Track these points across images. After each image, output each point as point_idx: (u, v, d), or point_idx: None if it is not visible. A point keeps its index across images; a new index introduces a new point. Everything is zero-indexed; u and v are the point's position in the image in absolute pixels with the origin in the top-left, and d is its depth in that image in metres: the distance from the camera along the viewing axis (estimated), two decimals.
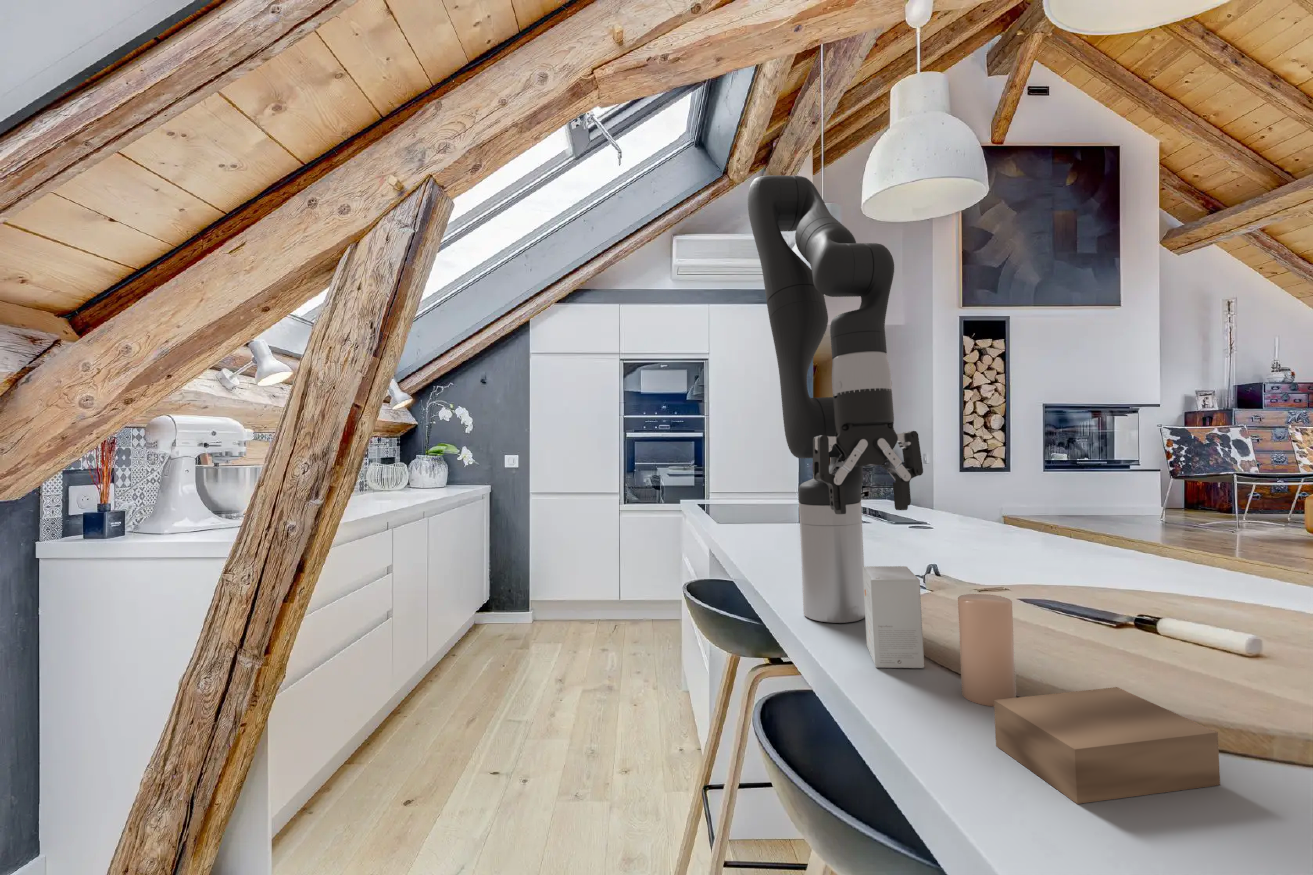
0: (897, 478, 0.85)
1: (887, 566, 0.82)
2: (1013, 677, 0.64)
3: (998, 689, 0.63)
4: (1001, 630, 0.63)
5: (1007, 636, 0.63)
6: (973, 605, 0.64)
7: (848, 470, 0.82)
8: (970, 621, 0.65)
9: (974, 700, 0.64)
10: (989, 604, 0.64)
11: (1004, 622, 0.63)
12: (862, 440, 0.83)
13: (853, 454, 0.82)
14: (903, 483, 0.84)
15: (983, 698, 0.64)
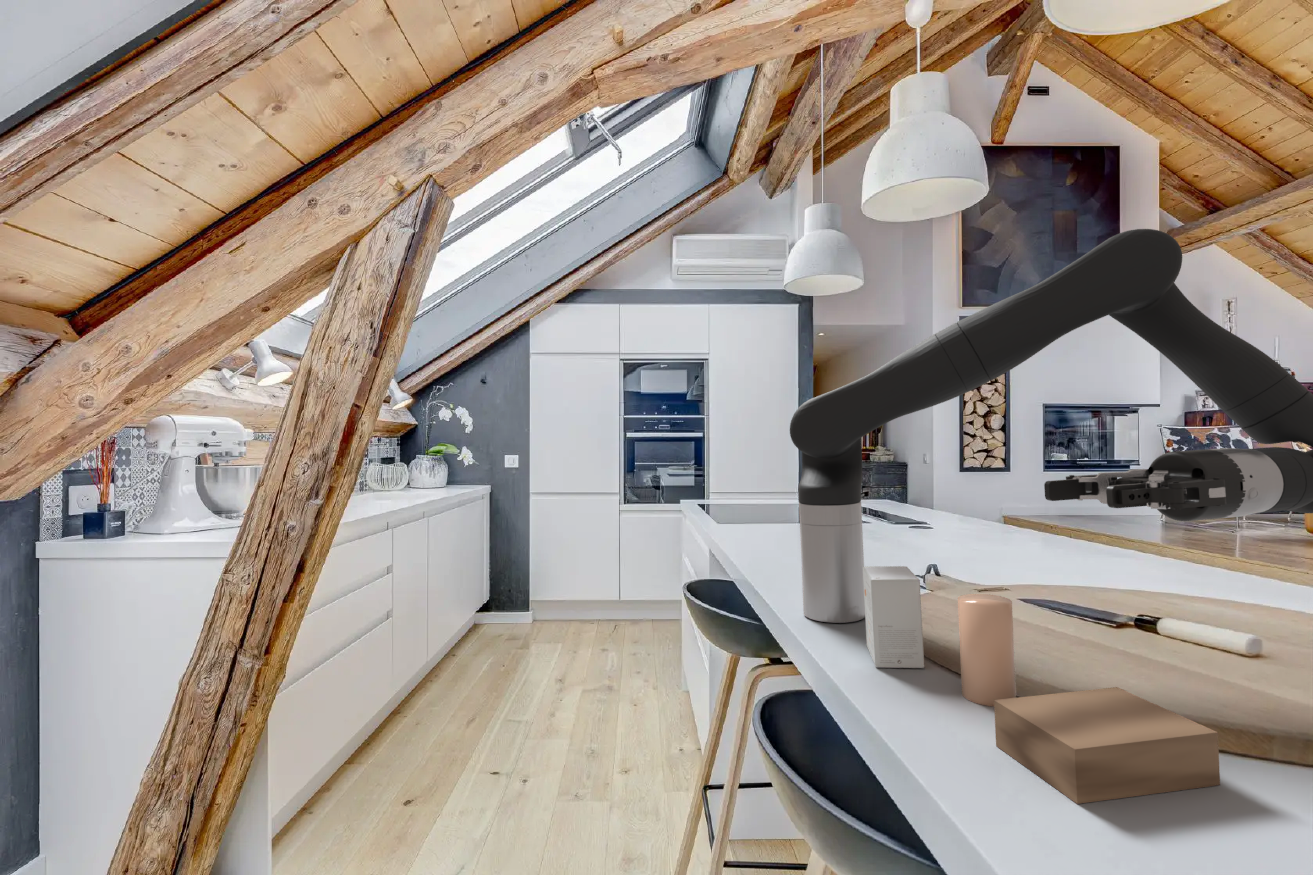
0: (1081, 487, 0.72)
1: (887, 566, 0.82)
2: (1013, 677, 0.64)
3: (998, 689, 0.63)
4: (1000, 630, 0.63)
5: (1007, 636, 0.63)
6: (973, 605, 0.64)
7: None
8: (970, 621, 0.65)
9: (974, 700, 0.64)
10: (989, 604, 0.64)
11: (1004, 622, 0.63)
12: None
13: None
14: (1076, 498, 0.72)
15: (983, 698, 0.64)
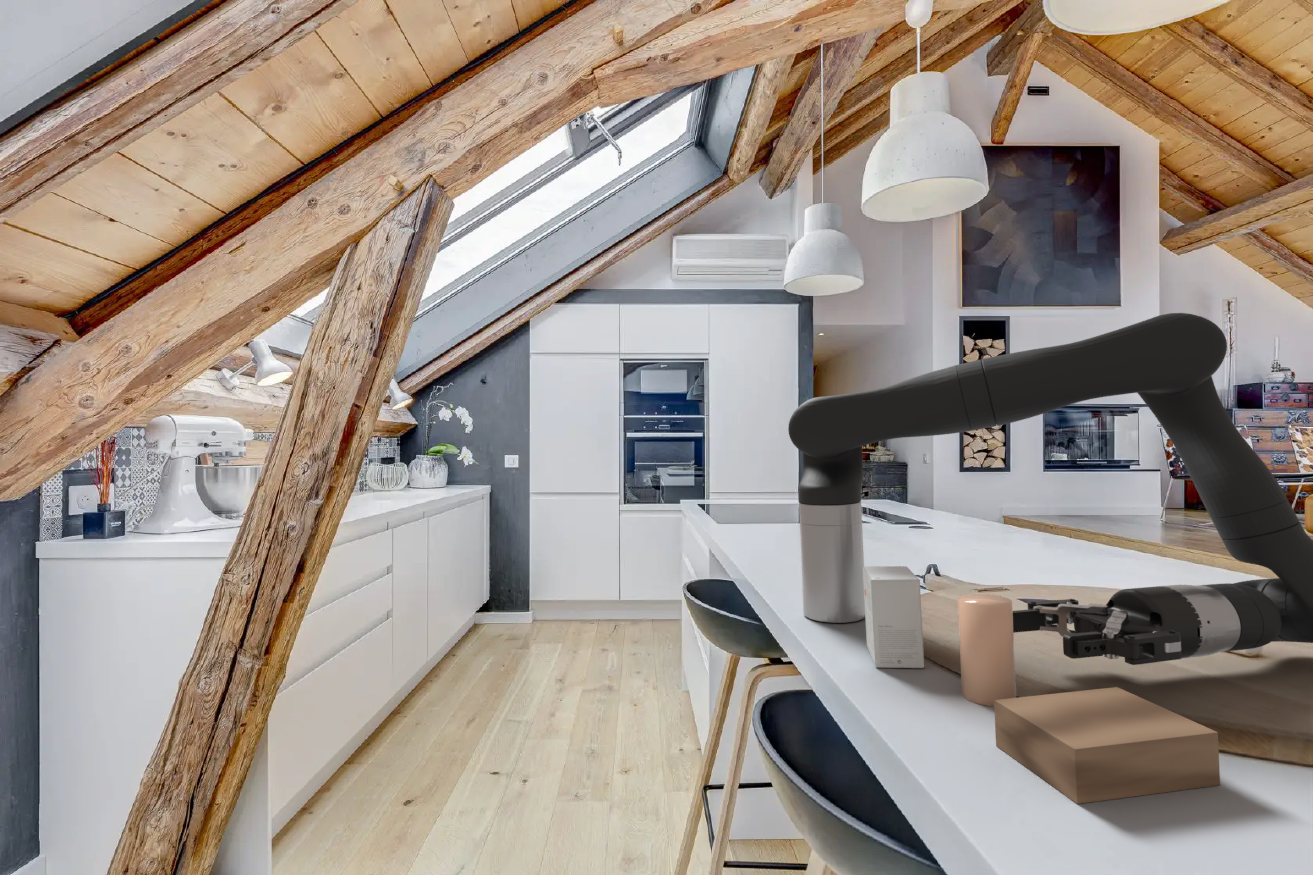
0: (1042, 618, 0.71)
1: (887, 566, 0.82)
2: (1013, 677, 0.64)
3: (998, 689, 0.63)
4: (1000, 630, 0.63)
5: (1007, 636, 0.63)
6: (973, 605, 0.64)
7: None
8: (970, 621, 0.65)
9: (974, 700, 0.64)
10: (989, 604, 0.64)
11: (1004, 622, 0.63)
12: None
13: None
14: None
15: (983, 698, 0.64)
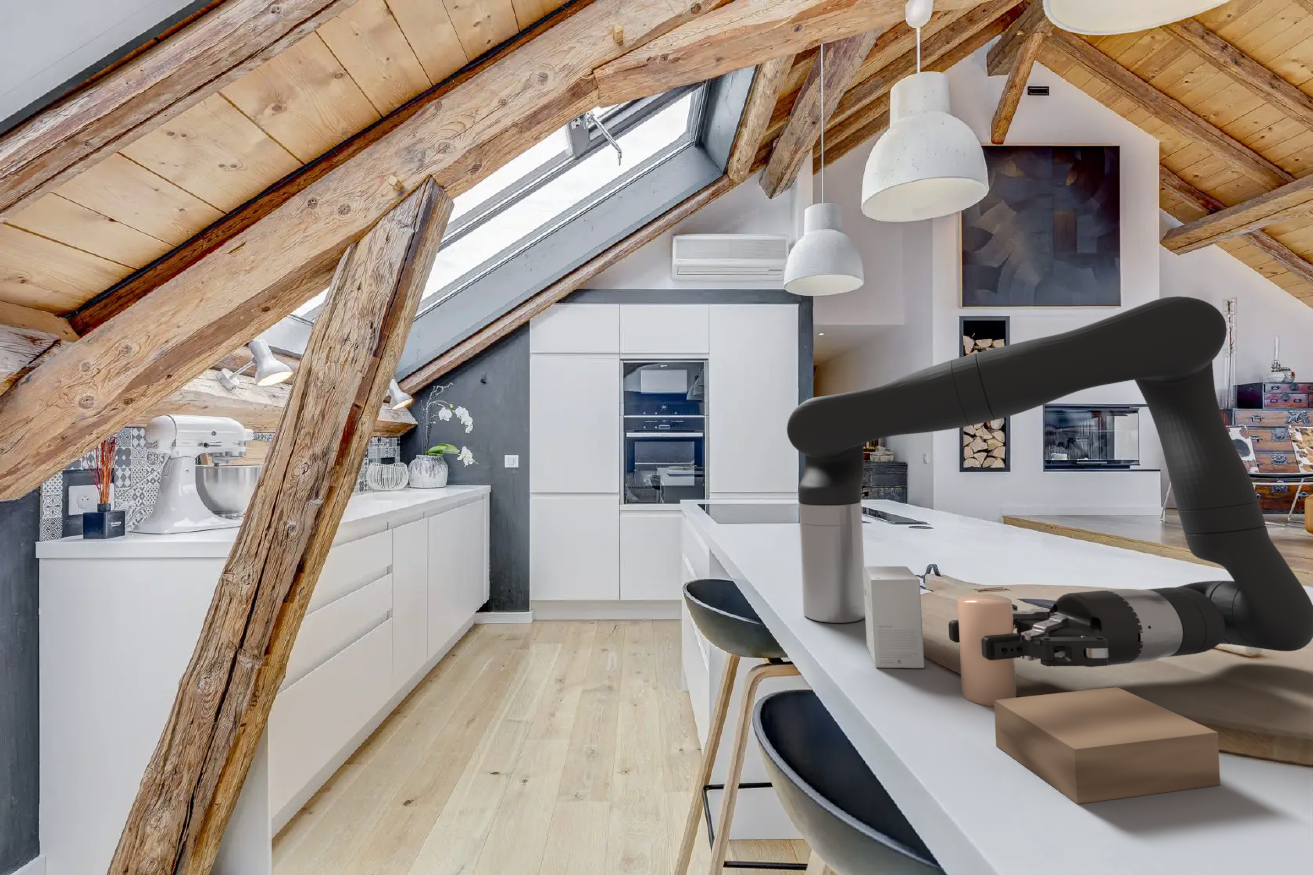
0: None
1: (887, 566, 0.82)
2: (1013, 677, 0.64)
3: (998, 689, 0.63)
4: (1000, 629, 0.63)
5: None
6: (973, 605, 0.64)
7: None
8: (969, 621, 0.65)
9: (974, 700, 0.64)
10: (989, 604, 0.64)
11: (1004, 621, 0.63)
12: None
13: None
14: None
15: (983, 698, 0.64)
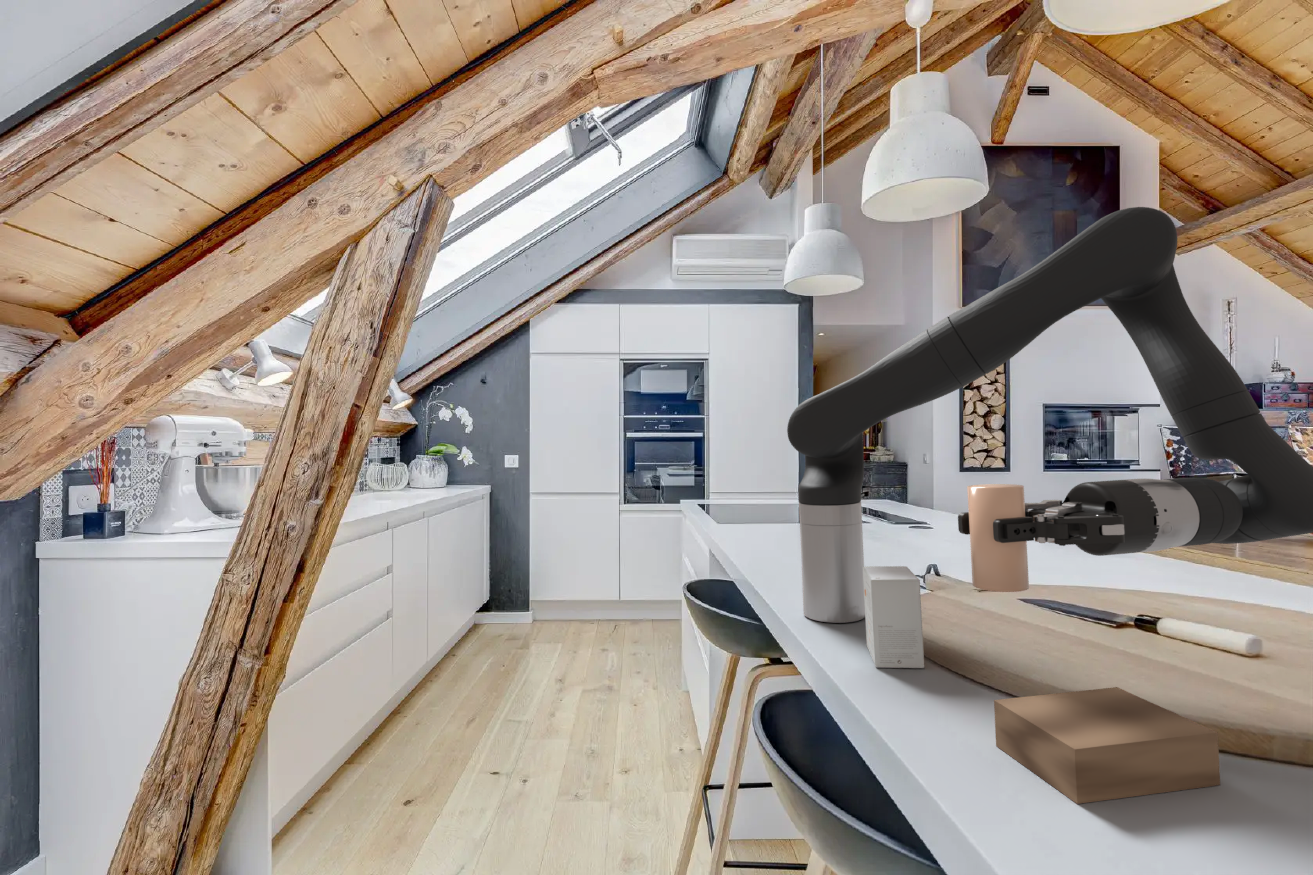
0: None
1: (887, 566, 0.82)
2: (1025, 562, 0.62)
3: (1010, 574, 0.61)
4: (1012, 512, 0.61)
5: None
6: (984, 489, 0.62)
7: None
8: (980, 506, 0.63)
9: (985, 588, 0.62)
10: (1000, 487, 0.62)
11: (1016, 504, 0.61)
12: None
13: None
14: None
15: (995, 584, 0.62)
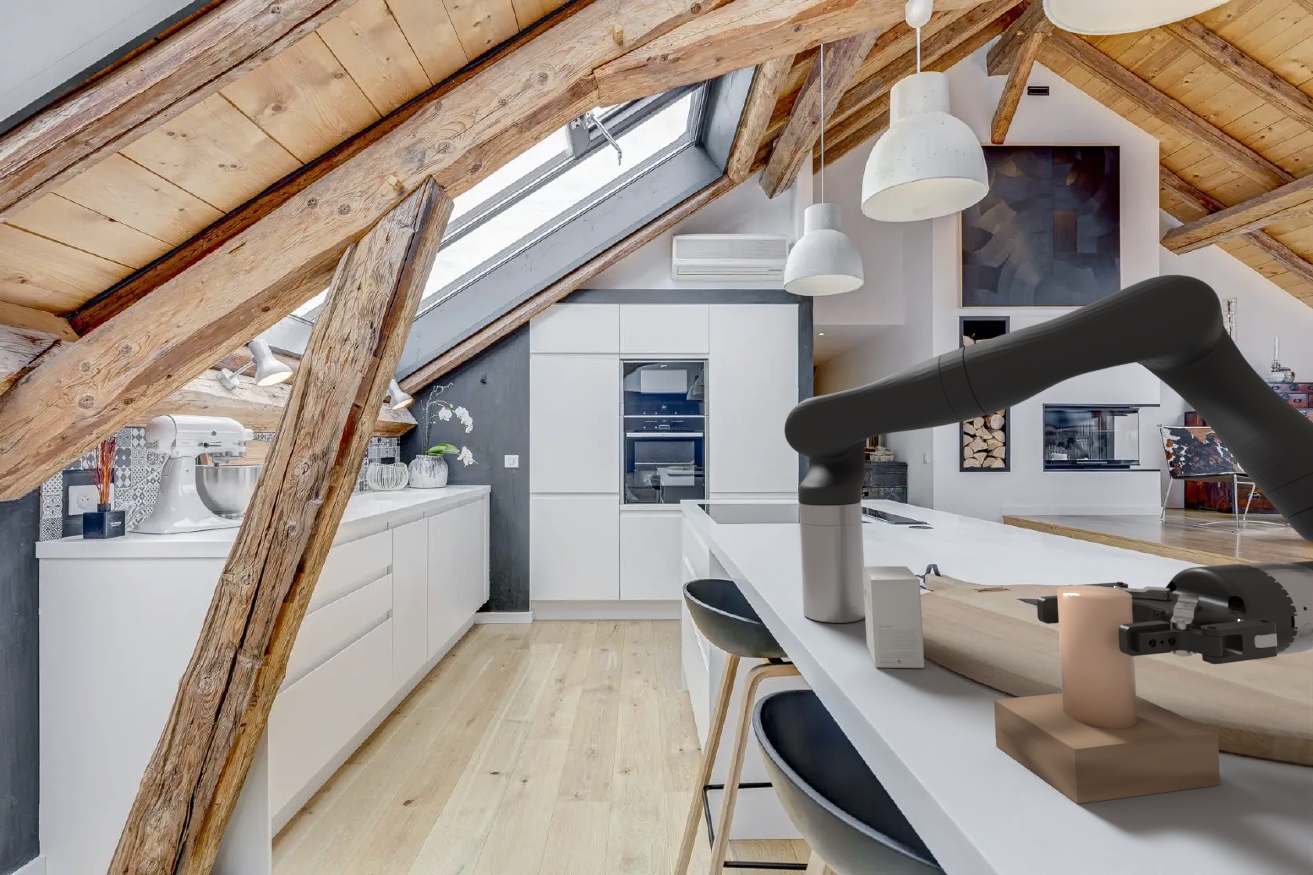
0: None
1: (887, 566, 0.82)
2: (1134, 691, 0.50)
3: (1116, 707, 0.49)
4: None
5: None
6: (1082, 599, 0.50)
7: None
8: (1077, 620, 0.51)
9: (1083, 720, 0.51)
10: (1103, 598, 0.50)
11: (1124, 620, 0.50)
12: None
13: None
14: None
15: (1096, 718, 0.50)
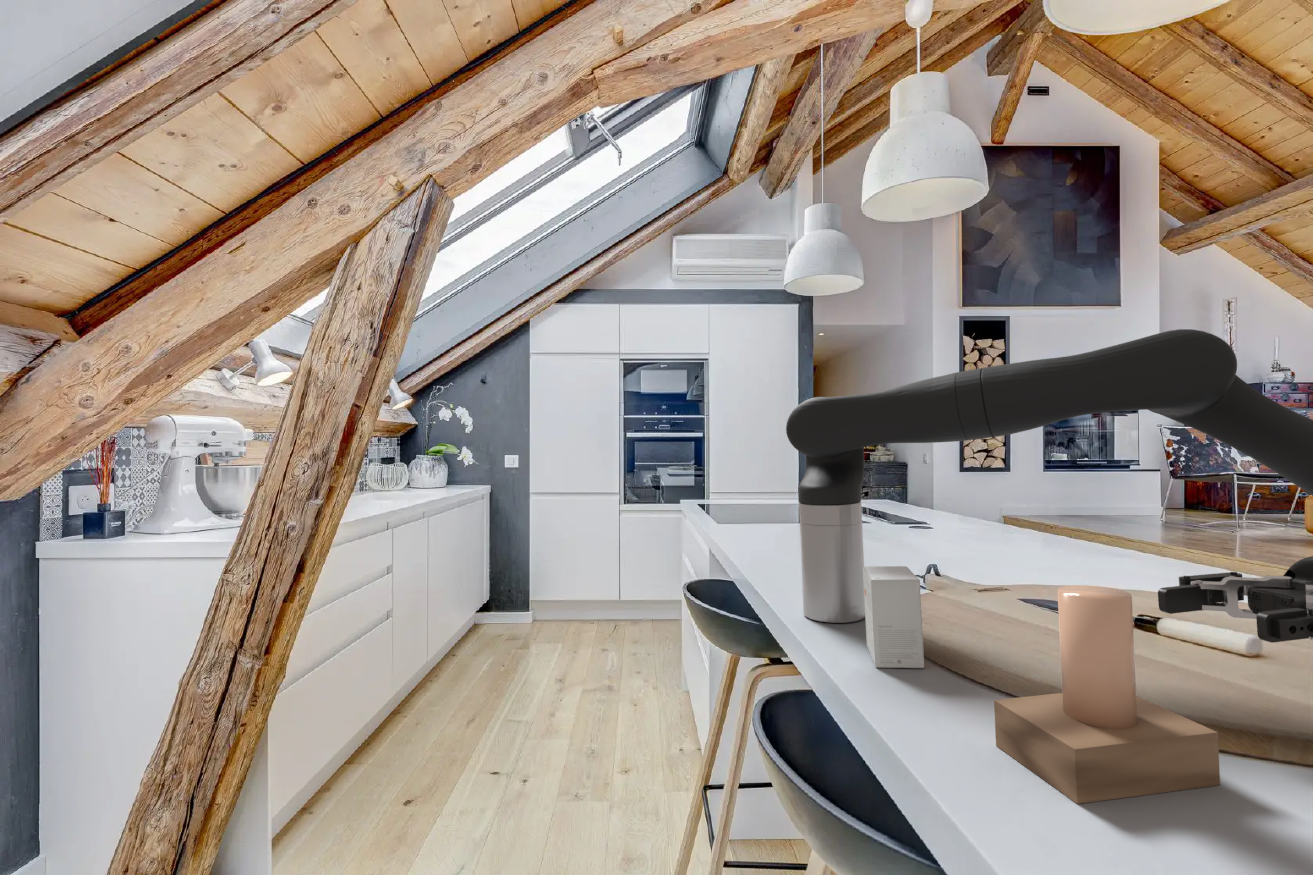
0: (1204, 596, 0.58)
1: (887, 566, 0.82)
2: (1134, 691, 0.50)
3: (1116, 707, 0.49)
4: (1120, 630, 0.49)
5: (1127, 638, 0.50)
6: (1082, 599, 0.50)
7: None
8: (1077, 619, 0.51)
9: (1083, 720, 0.51)
10: (1103, 598, 0.50)
11: (1124, 620, 0.50)
12: None
13: None
14: None
15: (1096, 718, 0.50)
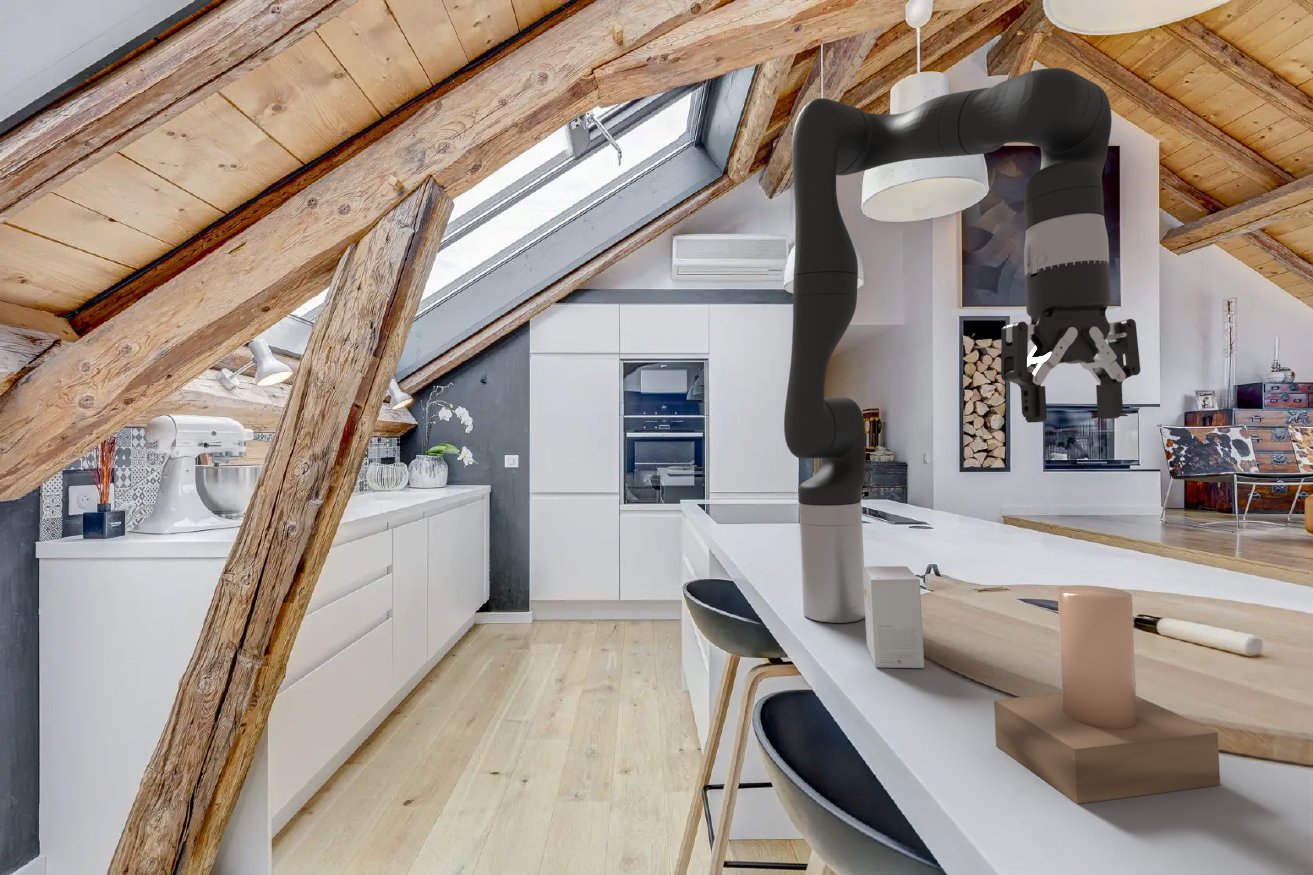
0: (1105, 379, 0.68)
1: (887, 566, 0.82)
2: (1134, 691, 0.50)
3: (1116, 707, 0.49)
4: (1120, 630, 0.49)
5: (1127, 638, 0.50)
6: (1083, 599, 0.50)
7: (1051, 366, 0.65)
8: (1077, 619, 0.51)
9: (1083, 720, 0.51)
10: (1103, 598, 0.50)
11: (1124, 620, 0.50)
12: (1071, 328, 0.65)
13: (1059, 346, 0.65)
14: (1116, 384, 0.67)
15: (1096, 718, 0.50)
